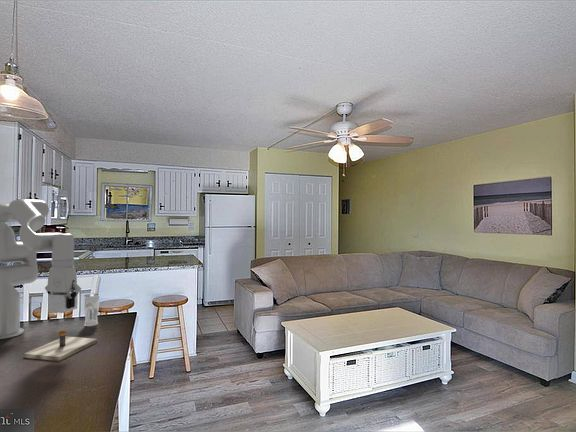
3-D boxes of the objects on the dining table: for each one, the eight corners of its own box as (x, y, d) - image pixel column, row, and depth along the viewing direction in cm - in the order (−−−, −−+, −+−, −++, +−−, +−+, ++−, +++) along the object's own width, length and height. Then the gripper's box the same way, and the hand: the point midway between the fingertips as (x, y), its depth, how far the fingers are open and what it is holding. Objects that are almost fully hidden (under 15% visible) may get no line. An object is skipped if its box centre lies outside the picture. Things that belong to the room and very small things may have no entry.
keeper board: (23, 357, 128) (23, 336, 128) (64, 339, 147) (65, 321, 147) (59, 360, 126) (59, 339, 126) (96, 342, 144) (97, 323, 144)
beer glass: (86, 328, 163) (87, 297, 163) (80, 325, 167) (81, 295, 167) (101, 324, 168) (102, 294, 168) (95, 321, 172) (95, 292, 172)
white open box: (47, 312, 134) (48, 294, 134) (62, 307, 140) (62, 290, 141) (63, 312, 132) (63, 295, 132) (77, 308, 139) (77, 291, 139)
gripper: (36, 264, 134) (36, 308, 134) (74, 265, 131) (73, 310, 131) (52, 262, 142) (52, 303, 142) (88, 263, 139) (88, 306, 139)
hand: (62, 306), depth 136 cm, fingers closed on white open box, 7 cm apart
